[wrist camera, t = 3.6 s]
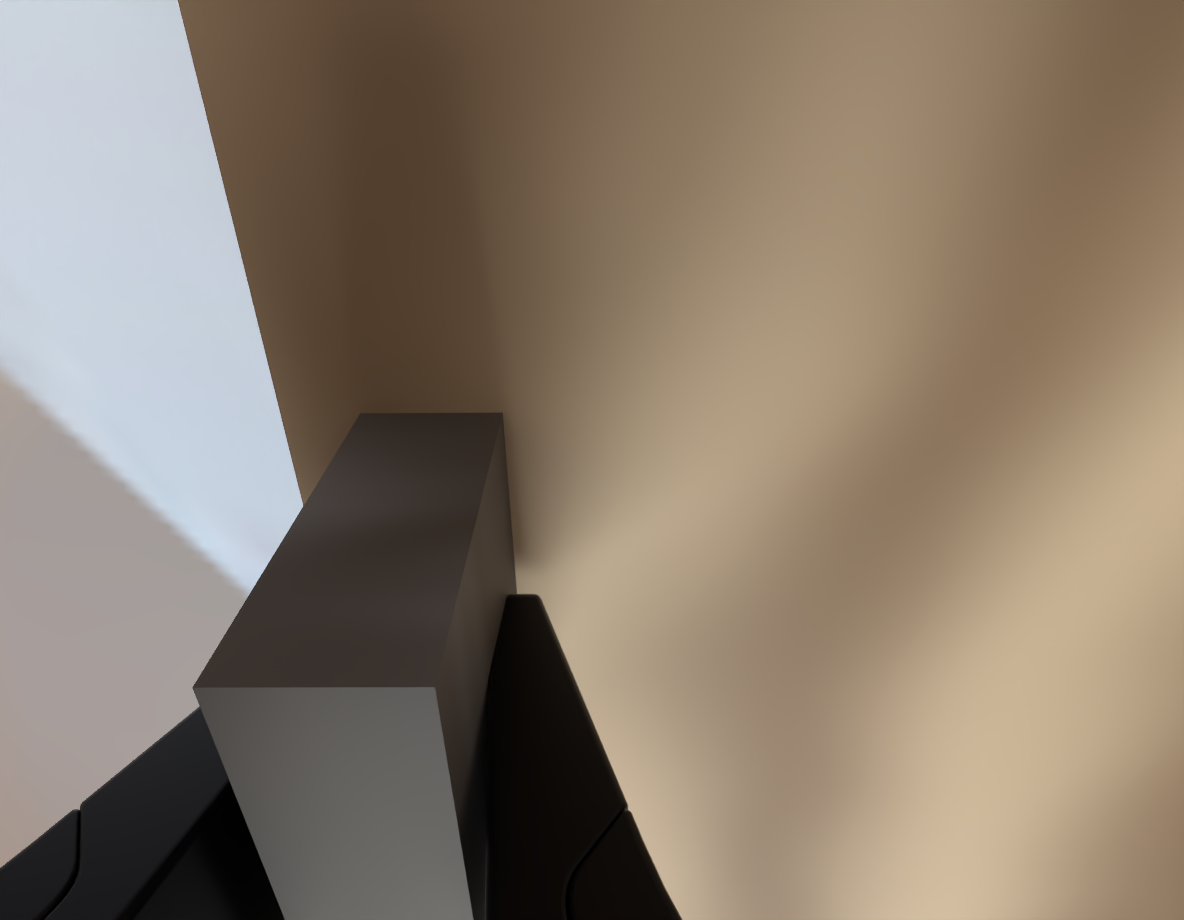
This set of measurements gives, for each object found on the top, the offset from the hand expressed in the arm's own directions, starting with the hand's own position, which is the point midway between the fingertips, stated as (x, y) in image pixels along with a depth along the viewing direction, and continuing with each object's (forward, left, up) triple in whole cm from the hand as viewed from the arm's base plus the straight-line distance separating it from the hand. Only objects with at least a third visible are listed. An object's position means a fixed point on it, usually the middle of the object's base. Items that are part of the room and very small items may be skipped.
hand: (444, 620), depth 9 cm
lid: (-5, 0, -1) cm, 6 cm away
